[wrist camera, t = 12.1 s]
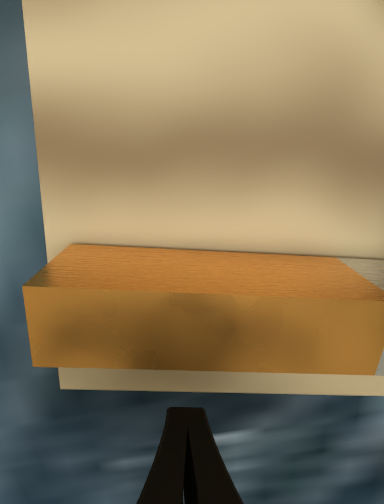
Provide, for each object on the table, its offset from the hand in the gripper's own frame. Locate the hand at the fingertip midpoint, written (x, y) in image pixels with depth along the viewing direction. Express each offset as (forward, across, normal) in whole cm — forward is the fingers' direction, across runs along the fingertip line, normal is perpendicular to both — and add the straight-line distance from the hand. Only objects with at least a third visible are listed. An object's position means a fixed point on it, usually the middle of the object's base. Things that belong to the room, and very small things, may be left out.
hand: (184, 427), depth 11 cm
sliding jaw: (+2, -5, -5) cm, 8 cm away
